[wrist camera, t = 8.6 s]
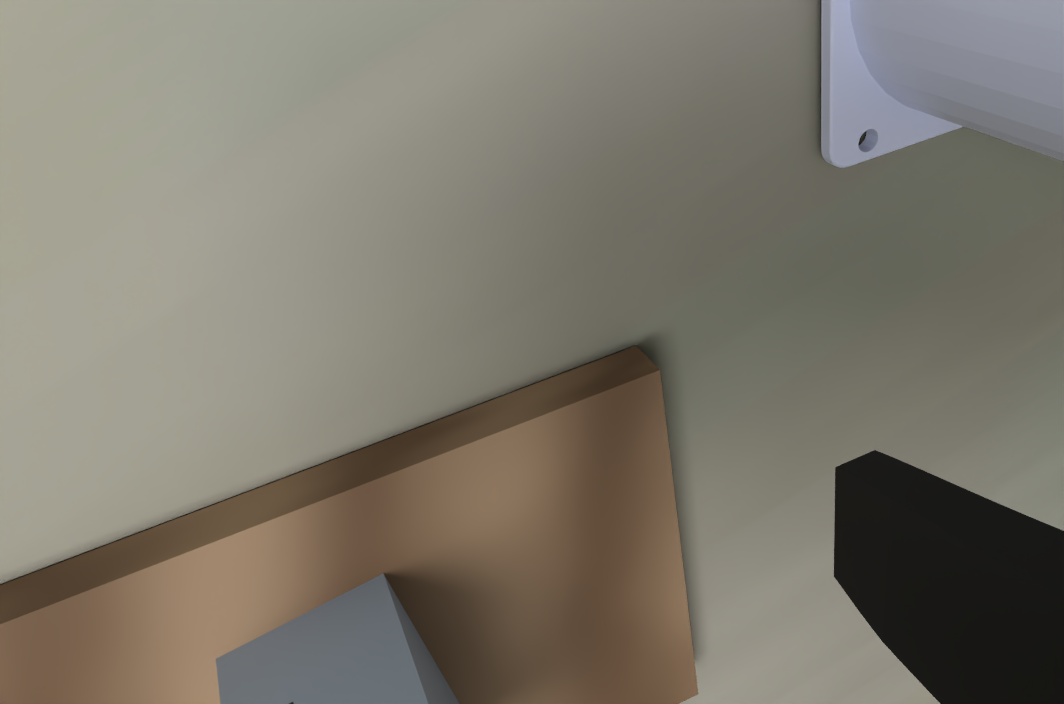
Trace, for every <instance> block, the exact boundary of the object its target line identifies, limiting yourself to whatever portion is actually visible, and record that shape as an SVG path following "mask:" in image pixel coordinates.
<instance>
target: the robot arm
mask: <svg viewBox="0 0 1064 704" xmlns="http://www.w3.org/2000/svg"><path fill="white" fill-rule="evenodd" d="M962 127H966V128H969V129H972V130H975V131H978V132H981V133H984V134H986V135H989V136H992V137H995V138H998V139H1001V140H1004V141H1006V142H1009V143H1012V144H1015V145H1018V146H1021V147H1024V148H1026V149H1029V150H1032V151H1035V152H1038V153H1041V154H1044V155H1046V156H1049V157H1052V158H1055V159H1058V160H1061V161H1064V0H821V151H822V156H823V158H824V159H825V161H826V162H828V163H830V164H832V165H834V166H837V167H839V168H846V167H850V166H853V165H856V164H859V163H861V162H864V161H867V160H870V159H873V158H876V157H879V156H882V155H884V154H887V153H890V152H893V151H896V150H899V149H902V148H904V147H907V146H910V145H913V144H916V143H919V142H922V141H925V140H927V139H930V138H933V137H936V136H939V135H942V134H945V133H947V132H950V131H953V130H956V129H959V128H962ZM865 131H866V132H867V133H866V137H865V140H864V141H863V142H862V144H861V145H858V143H859V139H860V137H861V136H862V134H863V133H864V132H865ZM834 577H835V578H836V580H837V581H838V582H839V584H840V585H841V587H842V588H843V589H844V591H845V592H846V594H847V595H848V596H849V598H850V599H851V600H852V602H853V603H854V605H855V606H856V607H857V609H858V610H859V612H860V613H861V614H862V616H863V617H864V618H865V619H866V621H867V622H868V623H869V625H870V626H871V627H872V629H873V630H874V631H875V633H876V634H877V635H878V636H879V638H880V639H881V640H882V642H883V643H884V644H885V645H886V646H887V647H888V648H889V649H890V650H891V651H892V653H893V654H894V655H895V656H896V657H897V658H898V659H899V660H900V661H901V662H902V663H903V664H904V665H905V666H906V668H907V669H908V670H909V671H910V672H911V673H912V674H913V675H914V676H915V677H916V678H917V679H918V680H919V681H920V682H921V684H922V685H923V686H924V687H925V688H926V689H927V690H928V691H929V692H930V693H931V694H932V695H933V696H934V697H935V698H936V699H937V700H938V701H939V702H940V704H1064V531H1062V530H1060V529H1057V528H1055V527H1053V526H1050V525H1048V524H1045V523H1043V522H1040V521H1038V520H1036V519H1033V518H1031V517H1028V516H1026V515H1024V514H1021V513H1019V512H1017V511H1014V510H1012V509H1010V508H1007V507H1005V506H1003V505H1000V504H998V503H996V502H993V501H991V500H989V499H986V498H984V497H982V496H980V495H977V494H975V493H973V492H970V491H968V490H966V489H964V488H961V487H959V486H957V485H955V484H952V483H950V482H948V481H945V480H943V479H941V478H939V477H936V476H934V475H932V474H930V473H927V472H925V471H923V470H921V469H918V468H916V467H914V466H911V465H909V464H907V463H905V462H902V461H900V460H898V459H895V458H893V457H890V456H888V455H886V454H883V453H881V452H878V451H876V450H874V451H872V452H870V453H867V454H865V455H863V456H860V457H858V458H856V459H853V460H851V461H849V462H847V463H844V464H842V465H840V466H837V467H836V472H835V541H834ZM289 704H294V703H293V702H291V703H289Z"/></svg>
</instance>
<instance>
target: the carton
mask: <svg viewBox="0 0 1064 704" xmlns="http://www.w3.org/2000/svg"><path fill="white" fill-rule="evenodd" d="M216 666H217V676H218V685H219V695H220V704H289V703H291V702H293V703H294V704H459V702H458V700H457V699H456V697H455V695H454V694H453V692H452V690H451V688H450V687H449V685H448V683H447V682H446V680H445V678H444V676H443V675H442V673H441V671H440V670H439V668H438V666H437V664H436V663H435V661H434V659H433V658H432V656H431V654H430V652H429V651H428V649H427V647H426V646H425V644H424V642H423V640H422V639H421V637H420V635H419V634H418V632H417V630H416V628H415V627H414V625H413V623H412V622H411V620H410V618H409V616H408V615H407V613H406V611H405V610H404V608H403V606H402V604H401V603H400V601H399V599H398V598H397V596H396V594H395V592H394V591H393V589H392V587H391V586H390V584H389V582H388V580H387V579H386V577H385V575H384V574H381V575H379V576H377V577H375V578H373V579H371V580H370V581H368V582H366V583H364V584H362V585H360V586H358V587H356V588H354V589H352V590H350V591H348V592H346V593H344V594H342V595H340V596H338V597H336V598H334V599H332V600H330V601H328V602H326V603H324V604H322V605H321V606H319V607H317V608H315V609H313V610H311V611H309V612H307V613H305V614H303V615H301V616H299V617H297V618H295V619H293V620H291V621H289V622H287V623H285V624H283V625H281V626H279V627H277V628H275V629H274V630H272V631H270V632H268V633H266V634H264V635H262V636H260V637H258V638H256V639H254V640H252V641H250V642H248V643H246V644H244V645H242V646H240V647H238V648H236V649H234V650H232V651H230V652H228V653H226V654H225V655H223V656H221V657H219V658H217V659H216Z"/></svg>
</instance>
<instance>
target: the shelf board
mask: <svg viewBox="0 0 1064 704" xmlns="http://www.w3.org/2000/svg"><path fill="white" fill-rule="evenodd" d="M381 574H384V575H385V577H386V579H387V580H388V582H389V584H390V586H391V587H392V589H393V591H394V592H395V594H396V596H397V598H398V599H399V601H400V603H401V604H402V606H403V608H404V610H405V611H406V613H407V615H408V616H409V618H410V620H411V622H412V623H413V625H414V627H415V628H416V630H417V632H418V634H419V635H420V637H421V639H422V640H423V642H424V644H425V646H426V647H427V649H428V651H429V652H430V654H431V656H432V658H433V659H434V661H435V663H436V664H437V666H438V668H439V670H440V671H441V673H442V675H443V676H444V678H445V680H446V682H447V683H448V685H449V687H450V688H451V690H452V692H453V694H454V695H455V697H456V699H457V700H458V702H459V704H679V703H681V702H683V701H685V700H687V699H689V698H691V697H693V696H695V695H697V694H698V687H697V679H696V670H695V662H694V653H693V645H692V636H691V628H690V620H689V611H688V603H687V594H686V586H685V577H684V569H683V560H682V552H681V543H680V535H679V526H678V518H677V509H676V501H675V492H674V484H673V475H672V467H671V458H670V450H669V441H668V433H667V424H666V416H665V407H664V399H663V390H662V382H661V373H660V369H659V368H658V367H657V366H656V365H655V364H654V363H653V362H652V361H651V360H650V359H649V358H648V357H647V356H646V355H645V354H644V353H643V352H642V351H641V350H640V349H639V348H638V347H637V346H634V347H631V348H629V349H626V350H623V351H621V352H618V353H615V354H613V355H610V356H607V357H605V358H602V359H599V360H597V361H594V362H592V363H589V364H586V365H584V366H581V367H578V368H576V369H573V370H570V371H568V372H565V373H562V374H560V375H557V376H554V377H552V378H549V379H546V380H544V381H541V382H538V383H536V384H533V385H530V386H528V387H525V388H522V389H520V390H517V391H515V392H512V393H509V394H507V395H504V396H501V397H499V398H496V399H493V400H491V401H488V402H485V403H483V404H480V405H477V406H475V407H472V408H469V409H467V410H464V411H461V412H459V413H456V414H453V415H451V416H448V417H445V418H443V419H440V420H438V421H435V422H432V423H430V424H427V425H424V426H422V427H419V428H416V429H414V430H411V431H408V432H406V433H403V434H400V435H398V436H395V437H392V438H390V439H387V440H384V441H382V442H379V443H376V444H374V445H371V446H369V447H366V448H363V449H361V450H358V451H355V452H353V453H350V454H347V455H345V456H342V457H339V458H337V459H334V460H331V461H329V462H326V463H323V464H321V465H318V466H315V467H313V468H310V469H307V470H305V471H302V472H299V473H297V474H294V475H292V476H289V477H286V478H284V479H281V480H278V481H276V482H273V483H270V484H268V485H265V486H262V487H260V488H257V489H254V490H252V491H249V492H246V493H244V494H241V495H238V496H236V497H233V498H230V499H228V500H225V501H222V502H220V503H217V504H215V505H212V506H209V507H207V508H204V509H201V510H199V511H196V512H193V513H191V514H188V515H185V516H183V517H180V518H177V519H175V520H172V521H169V522H167V523H164V524H161V525H159V526H156V527H153V528H151V529H148V530H145V531H143V532H140V533H138V534H135V535H132V536H130V537H127V538H124V539H122V540H119V541H116V542H114V543H111V544H108V545H106V546H103V547H100V548H98V549H95V550H92V551H90V552H87V553H84V554H82V555H79V556H76V557H74V558H71V559H68V560H66V561H63V562H61V563H58V564H55V565H53V566H50V567H47V568H45V569H42V570H39V571H37V572H34V573H31V574H29V575H26V576H23V577H21V578H18V579H15V580H13V581H10V582H7V583H5V584H2V585H0V704H220V695H219V685H218V676H217V666H216V659H217V658H219V657H221V656H223V655H225V654H226V653H228V652H230V651H232V650H234V649H236V648H238V647H240V646H242V645H244V644H246V643H248V642H250V641H252V640H254V639H256V638H258V637H260V636H262V635H264V634H266V633H268V632H270V631H272V630H274V629H275V628H277V627H279V626H281V625H283V624H285V623H287V622H289V621H291V620H293V619H295V618H297V617H299V616H301V615H303V614H305V613H307V612H309V611H311V610H313V609H315V608H317V607H319V606H321V605H322V604H324V603H326V602H328V601H330V600H332V599H334V598H336V597H338V596H340V595H342V594H344V593H346V592H348V591H350V590H352V589H354V588H356V587H358V586H360V585H362V584H364V583H366V582H368V581H370V580H371V579H373V578H375V577H377V576H379V575H381Z"/></svg>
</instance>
